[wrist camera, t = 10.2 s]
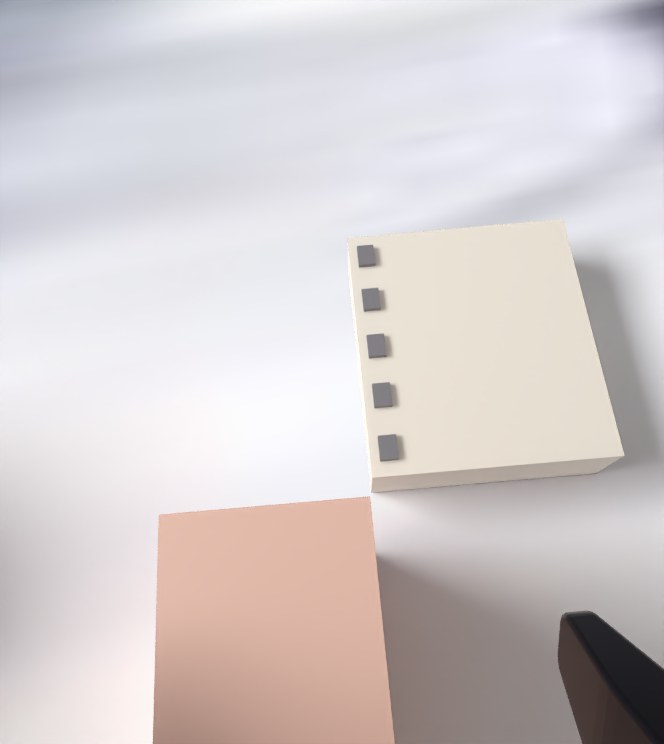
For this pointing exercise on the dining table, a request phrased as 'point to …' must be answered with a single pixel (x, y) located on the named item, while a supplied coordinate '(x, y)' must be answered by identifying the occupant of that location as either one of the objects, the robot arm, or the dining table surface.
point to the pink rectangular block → (270, 627)
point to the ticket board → (477, 358)
